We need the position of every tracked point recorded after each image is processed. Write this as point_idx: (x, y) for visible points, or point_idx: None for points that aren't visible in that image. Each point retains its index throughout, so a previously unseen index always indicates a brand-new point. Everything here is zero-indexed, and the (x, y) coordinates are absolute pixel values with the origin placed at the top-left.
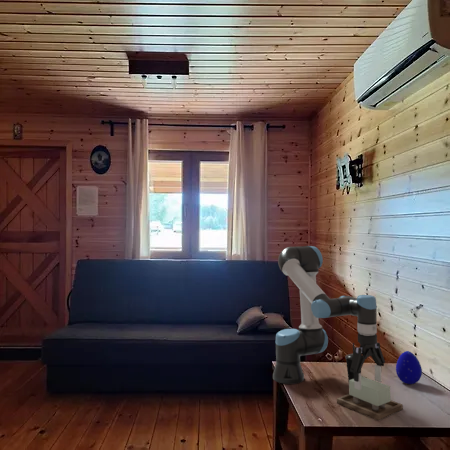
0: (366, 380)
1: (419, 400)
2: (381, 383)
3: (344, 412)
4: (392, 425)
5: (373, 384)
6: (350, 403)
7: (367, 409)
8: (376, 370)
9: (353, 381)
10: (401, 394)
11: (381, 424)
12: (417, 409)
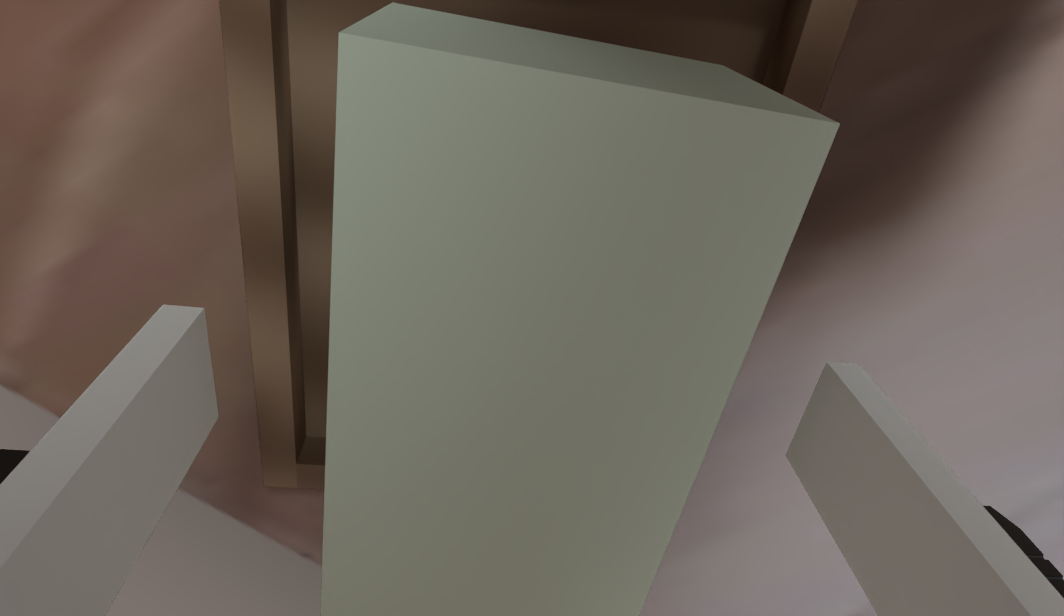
0: (630, 335)
1: (964, 479)
2: (658, 546)
3: (98, 114)
4: (303, 539)
5: (521, 497)
6: (244, 125)
7: (284, 360)
8: (930, 562)
9: (358, 170)
10: (1060, 323)
11: (237, 487)
12: (748, 534)
